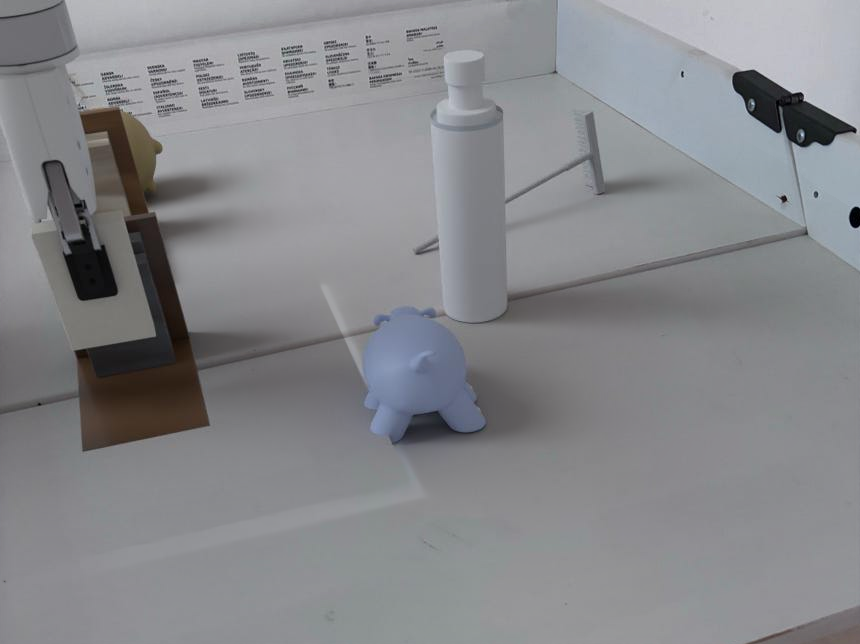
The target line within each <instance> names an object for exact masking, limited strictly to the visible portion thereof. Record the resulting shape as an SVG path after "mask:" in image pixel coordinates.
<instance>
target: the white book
mask: <svg viewBox="0 0 860 644" xmlns="http://www.w3.org/2000/svg"><path fill="white" fill-rule="evenodd" d="M92 218H93V221H94V224H95V228H96V231H97V234H98V237H99V241H100V244H101V245H105V248H106V252H107V255H108V258H109V261H110V265H111V268H112V271H113V275H114V278H115V281H116V284H117V288H118V294H117V295H116V296H112V297H106V298H99V299H93V300H87V301H81V300H79V299H78V297H77V294H76V291H75V288H74V285H73V282H72V279H71V276H70V273H69V270H68V267H67V264H66V261H65V259H64V256H63V251H64V250H63V247H62V244H61V241H60V238H59V235H58V232H57V229H56V226H55V223H54V221H53V219H51V220H44V221H41V223H36V222H31V223H30V236H31V240H32V239H33V240H32V243H33V242H34V243H33V245H34V244H35V245H34V248H35V247H36V248H35V250H37V251H36V253H37V255H38V258H40V259H39V261H40V264H41V267H42V269H43V272H44V275H45V278H46V281H47V283H48V286H49V289H50V292H51V294H52V297H53V300H54V303H55V306H56V309H57V311H58V314H59V317H60V320H61V323H62V326H63V328H64V331H65V334H66V337H67V339H68V343H69V345H70V348H71V350H72V351H73V352H74V350H80V349H86V348H92V347H98V346H104V345H109V344H115V343H121V342H127V341H133V340H139V339H145V338H150V337H156V333H155V327H154V323H153V319H152V316H151V312H150V309H149V305H148V302H147V298H146V295H145V291H144V288H143V284H142V281H141V277H140V273H139V270H138V266H137V263H136V259H135V256H134V252H133V249H132V245H131V242H130V238H129V235H128V231H127V228H126V224H125V221H124V217H123V214H122V211H121V210H119V211H112V212H105V213H98V214H92ZM79 221H80V223H81V224H84V223H85V225H86V222H85V220H79ZM86 227H87V225H86Z"/></svg>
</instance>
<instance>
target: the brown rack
mask: <svg viewBox="0 0 860 644" xmlns="http://www.w3.org/2000/svg"><path fill="white" fill-rule="evenodd" d="M124 221H125V224H126V228H127V231H128V235H129V238H130V242H131V245H132V249H133V252H134V256H135V259H136V263H137V266H138V270H139V273H140V277H141V281H142V284H143V288H144V291H145V295H146V298H147V302H148V305H149V309H150V312H151V316H152V319H153V323H154V327H155V333H156V337H150V338H145V339H139V340H133V341H127V342H121V343H115V344H109V345H104V346H98V347H92V348H86V349H80V350H74V351H73V352H74V354H75V355H74V356H75V358H76V368H77V369H76V370H77V384H78V401H79V417H80V433H81V451H82V453H85V452H89V451H94V450H98V449H99V450H100V449H103V448H108V447H109V448H110V447H113V446H118V445H124V444H127V443H132V442H137V441H143V440H148V439H152V438H157V437H162V436H166V435H171V434H177V433H181V432H186V431H191V430H196V429H201V428H206V427H210V426H211V424H210V420H209V415H208V411H207V407H206V402H205V398H204V394H203V390H202V385H201V381H200V377H199V372H198V368H197V364H196V358H195V354H194V350H193V345H192V343H191V338H190V333H189V329H188V325H187V323H186V319H185V315H184V311H183V308H182V304H181V300H180V297H179V293H178V290H177V286H176V282H175V278H174V275H173V271H172V268H171V263H170V261H169V257H168V254H167V250H166V246H165V243H164V239H163V234H162V232H161V228H160V224H159V220H158V217H157V213H156V211H151V212H150V211H149V213H144V214H138V215H132V216H125V217H124ZM31 240H32V243H33V245H34V248H35V250H36V247H35V244H34V242H33V239H32V238H31ZM36 252H37V250H36ZM38 258H39V257H38ZM39 260H40V258H39Z"/></svg>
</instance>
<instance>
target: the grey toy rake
mask: <svg viewBox="0 0 860 644" xmlns="http://www.w3.org/2000/svg"><path fill="white" fill-rule="evenodd" d="M571 111H572V112H575V113H573V114H572V116H574V118H573V120H574V121H576V122H574V125H575V126H576V127H575V130H578V131H576V132H575V134H578V135H577V136H576V138H578V140H577V143H579V144H578V148H579V149H578V151H579V152H581V153H579V155H578V156H576V157H575V158H572V159H570V160H569V161H567V162H565V163H564V164H563V166H560V167H559V168H557V169H555V170H554V171H552V172H549V173H548V174H546V175H544V176H542V177H541V178H538V179H537V180H536V181H534V182H531V183H530V184H528V185H526V186H523V188H520V189H519V190H517V191H516V192H513V193H512V194H510V195H508V196H505V205H507V204H508V203H510V202H512V201H514V200H516V199H518V198H520V197H521V196H523V195H525V194H527V193H529V192H530V191H532V190H534V189H536V188H537V187H539V186H541V185H543V184H545V183H547V182H549V181H550V180H552V179H553V178H555V177H557V176H559V175H562V174H563V173H564V172H568V171H570V170H572V169H574V168H576V167H577V166H579V165H581V164H582V166H581V168H582V169H584V170H582V173H585V174H582V176H583V177H585V178H584V179H583V181H585V182H584V185H585V186H588V187H592V191H593V194H595V195H600V194H602V193H604V192H606V185H605V180H604V173H603V168H602V167H603V166H602V160H601V155H600V148H599V141H598V135H597V129H596V121H595V114H594V111H592V110H590V109H587V110H586V109H581V108H580V109H579V108H575V107H574V108H573V109H572V110H571ZM437 243H439V237H438V234H437V235H435V236H433V237H432V238H430V239H428V240H427V241H424V242H423V243H421V244H419V245H417V246H416V247H414V248H412V252H413V255H416V254H418V253H420V252H422V251H423V250H426V249H427V248H429V247H431V246H433V245H435V244H437Z"/></svg>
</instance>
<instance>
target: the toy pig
mask: <svg viewBox="0 0 860 644" xmlns="http://www.w3.org/2000/svg"><path fill="white" fill-rule="evenodd" d="M104 108H107V106H106V107H95V108H92V109H91V110H97V109H104ZM120 111H121V115H122V119H123V122H124V126H125V129H126V133H127V136H128V140H129V143H130V147H131V151H132V154H133V158H134V161H135V165H136V168H137V172H138V175H139V179H140V183H141V186H142V190H143V193H145V192H147V193H150V194H153V193H155V192H157V190H158V185H157V183H156V181H155V180H154V176H155V173H156V168H157V155H159V154H161V153H163V149H164V147H163V145H162V143H161V142H160V141H158V140H157V139H155V138H153V137H152V136H151V134H150V132H149V130H148V129H147V128H146V126H145V125H144V124H143V123H142V122H141V121H140V120H139V119H138V118H136V117H135V116H133V115H132V114H130V113H129V112H126V111H123V110H121V109H120Z"/></svg>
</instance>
